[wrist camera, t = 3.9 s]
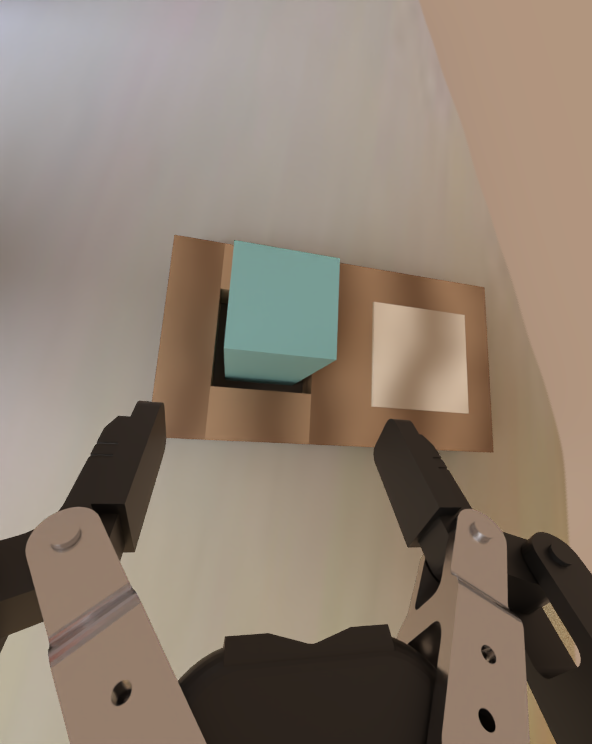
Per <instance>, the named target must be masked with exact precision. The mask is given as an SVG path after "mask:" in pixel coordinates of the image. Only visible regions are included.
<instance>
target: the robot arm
mask: <svg viewBox="0 0 592 744" xmlns="http://www.w3.org/2000/svg"><path fill="white" fill-rule="evenodd" d="M165 445H166V422H165V406H164V403H163V402H149V401H138V402H137V404H136V406H135V408H134V410H133V412H132V415H131V417H128V416H118V417H116V418H115V419H114V420H113V421H112V422H111V423H109V424H108V425H107V426H106V427H105V428H104V430H103V431H102V433H101V435H100V437H99V439H98V441H97V444H96V445H95V446H94V448H93V450H92V452H91V456H90V457H89V458H88V460H87V461H86V463H85V465H84V467H83V469H82V471H81V473H80V475H79V476H78V478H77V480H76V482H75V484H74V486H73V488H72V489H71V491H70V493H69V495H68V497H67V499H66V501H65V503H64V504H63V506H62V507H61V508H60V510H59V511H58V512H56V513H55V514H53V515H51V516H49V517H48V518H46V519H45V520H44V521H43V522H41V523H40V524H39V525H38V526H37V527H36V528H35V529H34V530H32V531H29V532H27V533H25V534H22V535H18V536H15V537H11V538H8V539H4V540H0V652H1V650H2V648H3V646H4V644H5V641H6V639H7V637H8V635H10V634H12V633H15V632H18V631H20V630H23V629H25V628H28V627H31V626H33V625H36V624H38V623H41V622H44V624H45V628H46V631H47V635H48V639H49V646H50V647H49V649H48V656H49V663H50V667H51V672H52V676H53V679H54V683H55V687H56V691H57V695H58V699H59V702H60V706H61V710H62V714H63V718H64V722H65V725H66V729H67V733H68V737H69V741H70V744H530V736H529V718H528V699H527V682H528V684H529V687H530V689H531V691H532V693H533V695H534V697H535V699H536V701H537V703H538V706H539V708H540V710H541V712H542V714H543V716H544V718H545V720H546V722H547V725H548V727H549V729H550V731H551V733H552V735H553V737H554V739H555V741H556V744H592V574H591V573H590V571H589V570H588V569H587V568H586V566H585V565H584V563H583V562H582V561H581V560H580V558H579V557H578V555H577V554H576V553H575V552H574V551H573V550H572V549H571V548H570V547H569V546H568V545H567V544H565V543H564V542H563V541H562V540H560V539H558V538H557V537H555V536H553V535H551V534H548V533H544V532H538V533H536V534H534V535H533V536H532V537H531V538H529V539H528V540H526V539H523V538H520V537H517V536H514V535H511V534H508V533H505V532H502V531H501V529H500V528H499V527H498V525H497V524H496V523H495V522H494V521H493V520H492V519H491V518H489V517H488V516H487V515H485V514H483V513H481V512H479V511H477V510H473V509H472V508H471V506H470V505H469V503H468V501H467V500H466V498H465V496H464V495H463V493H462V491H461V490H460V488H459V487H458V485H457V483H456V482H455V480H454V478H453V477H452V475H451V473H450V472H449V470H447V467H446V465H445V463H444V462H443V460H441V457H440V455H439V453H438V452H437V450H436V449H435V447H434V445H433V444H432V443H431V442H430V441H429V440H427V439H426V438H425V437H424V436H423V435H421V434H419V433H418V431H417V430H416V428H415V426H414V424H413V423H412V422H411V421H410V420H401V419H389V420H388V421H387V422H386V424H385V426H384V428H383V430H382V432H381V434H380V436H379V438H378V440H377V442H376V444H375V447H374V461H375V464H376V466H377V469H378V471H379V474H380V477H381V479H382V482H383V484H384V487H385V490H386V492H387V495H388V497H389V500H390V503H391V505H392V508H393V510H394V513H395V516H396V518H397V521H398V523H399V526H400V528H401V531H402V534H403V536H404V539H405V541H406V544H407V547H421V548H422V551H423V553H424V554H423V555H422V557H421V559H420V562H419V567H418V571H417V576H416V580H415V584H414V589H413V593H412V597H411V602H410V606H409V610H408V614H407V616H406V619H405V621H404V622H403V624H402V626H401V628H400V630H399V633H398V636H397V639H396V638H393V637H391V634H390V630H389V627H388V624H385V625H372V626H359V627H350V628H348V629H346V630H344V631H341V632H339V633H337V634H335V635H333V636H331V637H329V638H326V639H324V640H322V641H320V642H318V643H315V644H307V643H303V642H300V641H296V640H292V639H288V638H284V637H280V636H277V635H273V634H269V633H266V634H253V635H240V636H227V637H225V640H224V645H223V648H221V649H219V650H217V651H214V652H212V653H211V654H209V655H207V656H206V657H204V658H202V659H201V660H200V661H198V662H197V663H196V664H195V665H193V666H192V667H191V668H190V669H189V670H188V671H187V672H186V673H185V674H184V675H183V676H182V677H181V678H180V679H179V680H178V681H177V679H176V677H175V674H174V672H173V670H172V668H171V666H170V664H169V661H168V659H167V657H166V655H165V653H164V651H163V648H162V646H161V644H160V642H159V640H158V638H157V635H156V633H155V631H154V629H153V627H152V625H151V622H150V620H149V618H148V616H147V614H146V612H145V609H144V607H143V605H142V603H141V601H140V599H139V597H138V595H137V593H136V592H135V590H134V589H133V588H132V586H131V585H130V583H129V580H128V578H127V576H126V574H125V572H124V569H123V567H122V565H121V563H120V560H121V557H122V554H123V552H135V549H136V546H137V543H138V539H139V536H140V532H141V529H142V526H143V522H144V519H145V515H146V512H147V509H148V505H149V502H150V498H151V495H152V492H153V488H154V485H155V481H156V478H157V475H158V471H159V468H160V465H161V461H162V458H163V454H164V450H165ZM549 602H550V603H551V604H552V606H553V608H554V609H555V611H556V613H557V614H558V616H559V617H560V619H561V621H562V622H563V624H564V626H565V627H566V629H567V631H568V632H569V634H570V636H571V637H572V639H573V640H574V642H575V644H576V646H577V647H578V650H579V653H580V657H581V663H580V666H579V667H577V666H576V665H575V663H574V661H573V660H572V658H571V656H570V654H569V653H568V651H567V649H566V648H565V646H564V644H563V642H562V641H561V639H560V637H559V636H558V634H557V632H556V630H555V629H554V627H553V625H552V624H551V622H550V620H549V618H548V617H547V615H546V613H545V612H544V610H543V608H542V607H543V606H545V605H546V604H548V603H549ZM526 680H527V681H526Z"/></svg>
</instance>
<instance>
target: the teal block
mask: <svg viewBox="0 0 592 744" xmlns="http://www.w3.org/2000/svg"><path fill="white" fill-rule="evenodd" d="M339 270H340V258H335V257H329V256H323V255H318V254H312V253H306V252H300V251H294V250H289V249H283V248H277V247H271V246H266V245H260V244H254V243H248V242H243V241H237V240H234V249H233V260H232V270H231V280H230V290H229V300H228V310H227V321H226V331H225V341H224V365H225V380H231V381H243V382H255V383H267V384H279V385H291V386H292V385H294V384H296V383H297V382H299V381H301V380H302V379H304V378H306V377H308V376H309V375H311V374H313V373H315V372H316V371H318V370H320V369H321V368H323V367H325V366H327V365H328V364H330V363H332V362H334V361H335V360H337V331H338V300H339Z"/></svg>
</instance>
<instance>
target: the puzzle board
mask: <svg viewBox="0 0 592 744" xmlns="http://www.w3.org/2000/svg"><path fill="white" fill-rule="evenodd" d="M233 249H234V245H231V244H225V243H219V242H214V241H208V240H202V239H196V238H190V237H184V236H178V235H174V243H173V250H172V257H171V265H170V272H169V280H168V287H167V294H166V302H165V309H164V316H163V324H162V331H161V338H160V346H159V353H158V361H157V368H156V375H155V383H154V390H153V397H152V402H163V403H164V406H165V422H166V438H182V439H205V440H227V441H249V442H272V443H294V444H316V445H339V446H361V447H375V444H376V442H377V440H378V438H379V436H380V434H381V432H382V430H383V428H384V426H385V424H386V422H387V421H388V420H389V419H401V420H410V421H411V422H412V423H413V424H414V426H415V428H416V430H417V431H418V433H419V434H421V435H423V436H424V437H425V438H426V439H427V440H429V441H430V442H431V443H432V444H433V445H434V447H435V449H436V450H451V451H473V452H493V436H492V418H491V399H490V381H489V363H488V344H487V326H486V308H485V290H484V287H478V286H472V285H466V284H460V283H455V282H449V281H443V280H437V279H431V278H425V277H419V276H413V275H408V274H402V273H396V272H390V271H384V270H378V269H372V268H366V267H361V266H355V265H349V264H343V263H340V270H339V300H338V331H337V360H335V361H334V362H332V363H330V364H328V365H327V366H325V367H323V368H321V369H320V370H318V371H316V372H315V373H313V374H311V375H309V376H308V377H306V378H304V379H302V380H301V381H299V382H297V383H296V384H294V385H292V386H291V385H279V384H267V383H255V382H243V381H231V380H225V365H224V341H225V331H226V321H227V310H228V300H229V290H230V280H231V270H232V260H233Z"/></svg>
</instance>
